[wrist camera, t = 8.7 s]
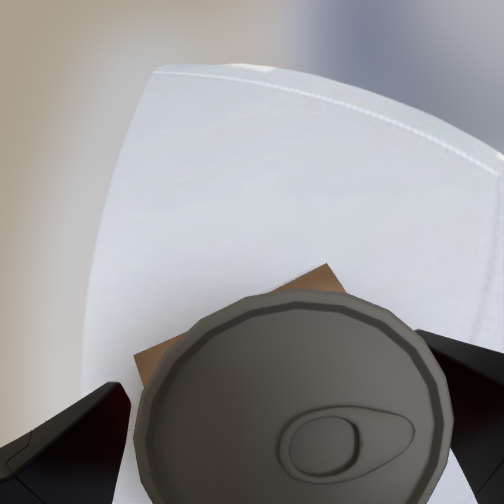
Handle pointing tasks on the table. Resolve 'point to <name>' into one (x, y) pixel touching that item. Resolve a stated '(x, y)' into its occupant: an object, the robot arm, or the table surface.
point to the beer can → (295, 407)
